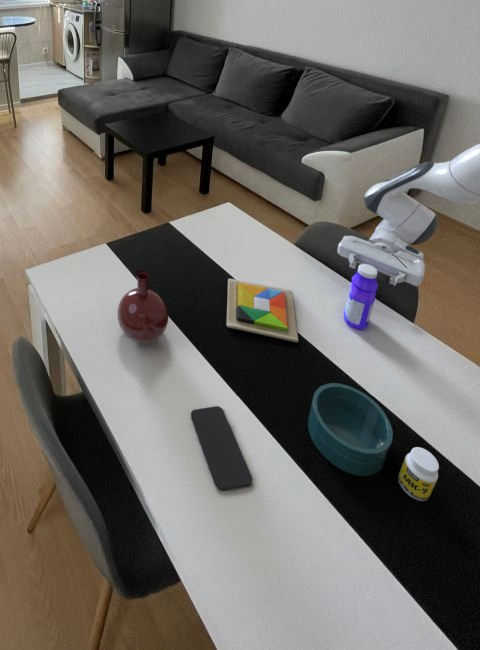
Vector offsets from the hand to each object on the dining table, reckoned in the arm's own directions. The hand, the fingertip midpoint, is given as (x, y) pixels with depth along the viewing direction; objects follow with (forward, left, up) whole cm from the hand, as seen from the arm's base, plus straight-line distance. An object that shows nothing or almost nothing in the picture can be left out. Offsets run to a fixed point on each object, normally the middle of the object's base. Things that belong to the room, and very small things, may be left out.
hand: (371, 274), depth 116 cm
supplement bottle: (-26, +39, -10) cm, 48 cm away
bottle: (-1, +9, -10) cm, 13 cm away
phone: (0, +63, -10) cm, 63 cm away
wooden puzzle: (+16, +26, -10) cm, 32 cm away
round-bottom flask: (+30, +57, -10) cm, 65 cm away
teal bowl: (-14, +41, -10) cm, 44 cm away
